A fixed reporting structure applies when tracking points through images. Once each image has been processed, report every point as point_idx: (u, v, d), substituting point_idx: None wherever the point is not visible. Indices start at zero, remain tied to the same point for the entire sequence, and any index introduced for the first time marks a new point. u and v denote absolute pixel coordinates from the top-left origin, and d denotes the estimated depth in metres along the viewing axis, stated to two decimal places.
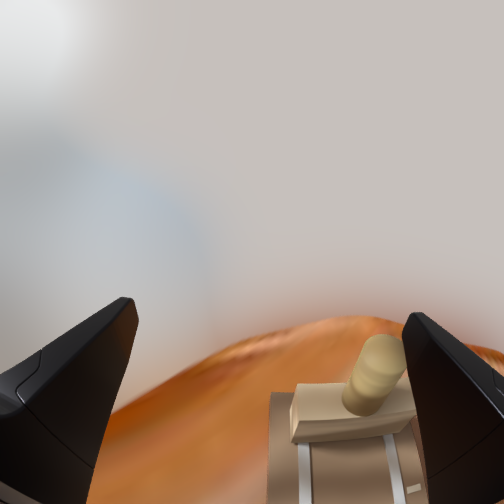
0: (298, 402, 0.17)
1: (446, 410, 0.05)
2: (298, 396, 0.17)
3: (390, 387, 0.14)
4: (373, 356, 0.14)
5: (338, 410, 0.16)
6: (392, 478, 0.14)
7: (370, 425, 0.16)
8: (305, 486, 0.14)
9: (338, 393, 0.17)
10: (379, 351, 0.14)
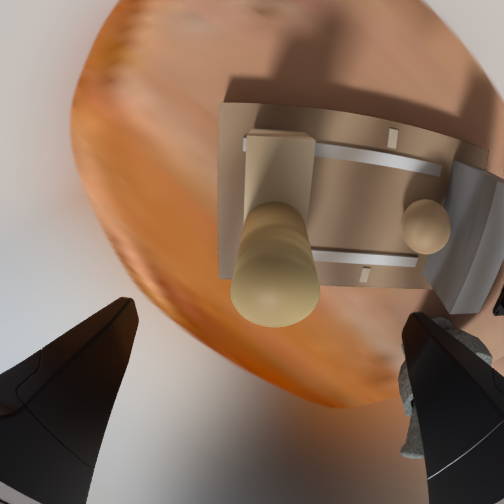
0: None
1: (446, 410, 0.05)
2: None
3: (313, 260, 0.11)
4: (279, 316, 0.10)
5: None
6: (368, 161, 0.16)
7: None
8: (346, 257, 0.19)
9: None
10: (270, 306, 0.10)
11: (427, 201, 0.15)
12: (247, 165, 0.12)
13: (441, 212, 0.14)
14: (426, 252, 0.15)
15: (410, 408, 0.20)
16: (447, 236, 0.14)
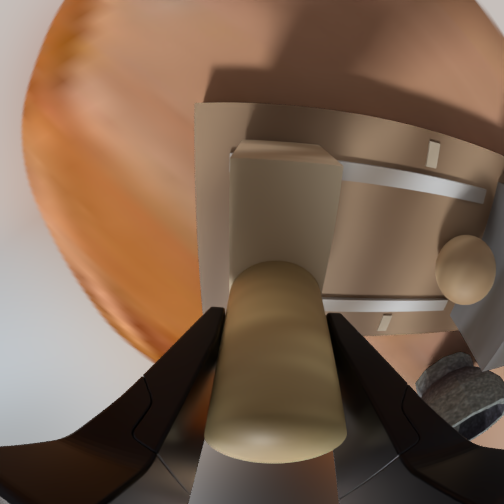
0: None
1: (349, 426, 0.05)
2: None
3: None
4: (281, 457, 0.06)
5: None
6: (401, 185, 0.11)
7: None
8: (365, 305, 0.15)
9: None
10: (268, 450, 0.05)
11: (472, 239, 0.10)
12: (232, 206, 0.08)
13: (488, 255, 0.10)
14: (465, 304, 0.11)
15: None
16: (492, 284, 0.10)
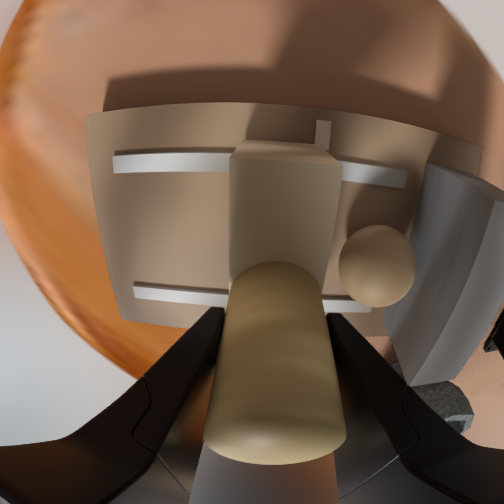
0: None
1: (349, 426, 0.05)
2: None
3: (336, 375, 0.06)
4: (280, 458, 0.05)
5: None
6: None
7: None
8: None
9: None
10: (267, 452, 0.05)
11: (378, 229, 0.11)
12: (231, 206, 0.08)
13: (399, 248, 0.10)
14: (374, 306, 0.11)
15: None
16: (408, 284, 0.10)
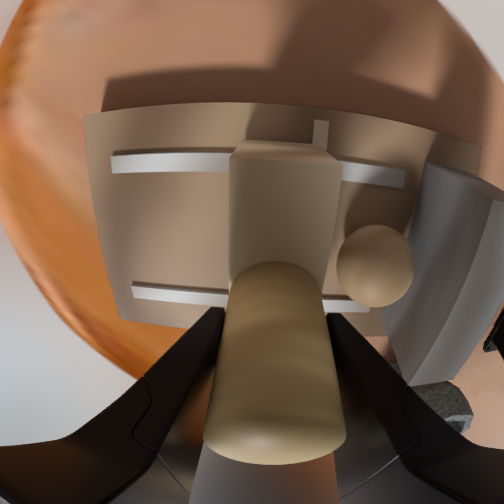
0: None
1: (349, 426, 0.05)
2: None
3: (336, 375, 0.06)
4: (280, 458, 0.05)
5: None
6: None
7: None
8: None
9: None
10: (267, 452, 0.05)
11: (376, 229, 0.11)
12: (231, 206, 0.08)
13: (397, 247, 0.10)
14: (372, 306, 0.11)
15: None
16: (406, 284, 0.10)
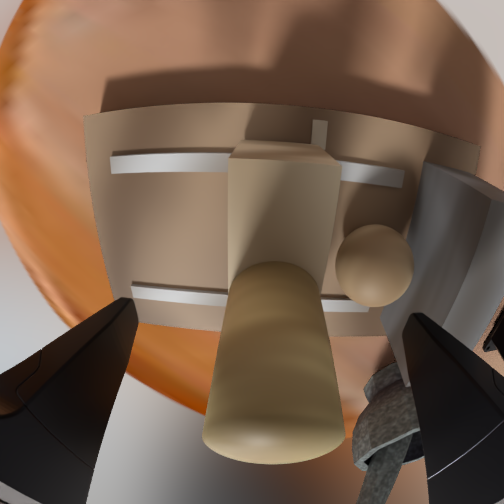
0: None
1: (446, 410, 0.05)
2: None
3: (335, 375, 0.06)
4: (279, 458, 0.05)
5: None
6: None
7: None
8: None
9: None
10: (266, 451, 0.05)
11: (375, 229, 0.11)
12: (230, 207, 0.08)
13: (396, 247, 0.10)
14: (371, 306, 0.11)
15: (365, 465, 0.16)
16: (405, 283, 0.10)
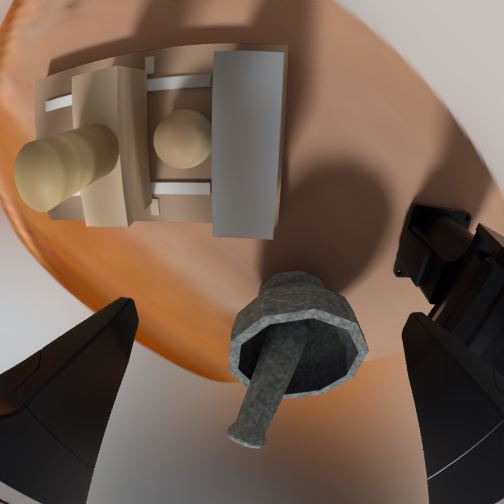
0: (107, 225, 0.15)
1: (446, 410, 0.05)
2: (100, 225, 0.15)
3: (81, 153, 0.10)
4: (43, 200, 0.09)
5: (111, 182, 0.14)
6: None
7: (131, 127, 0.14)
8: None
9: None
10: (36, 189, 0.09)
11: (176, 110, 0.14)
12: (73, 99, 0.12)
13: (182, 115, 0.14)
14: (174, 163, 0.15)
15: (247, 380, 0.20)
16: (191, 139, 0.14)
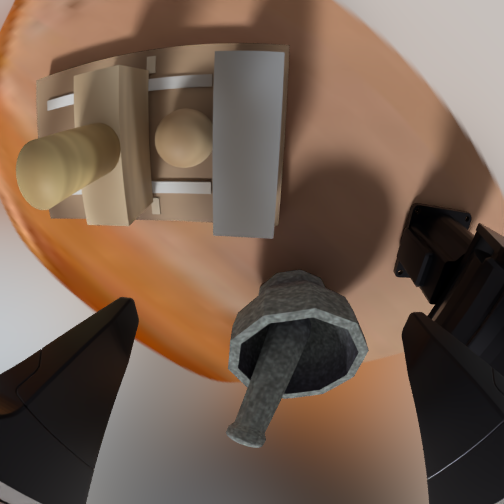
0: (108, 224, 0.15)
1: (446, 410, 0.05)
2: (101, 224, 0.15)
3: (82, 152, 0.10)
4: (45, 198, 0.09)
5: (112, 181, 0.14)
6: None
7: (132, 126, 0.14)
8: None
9: None
10: (37, 187, 0.09)
11: (177, 110, 0.14)
12: (74, 98, 0.12)
13: (183, 114, 0.14)
14: (175, 162, 0.15)
15: (247, 379, 0.20)
16: (192, 138, 0.14)
